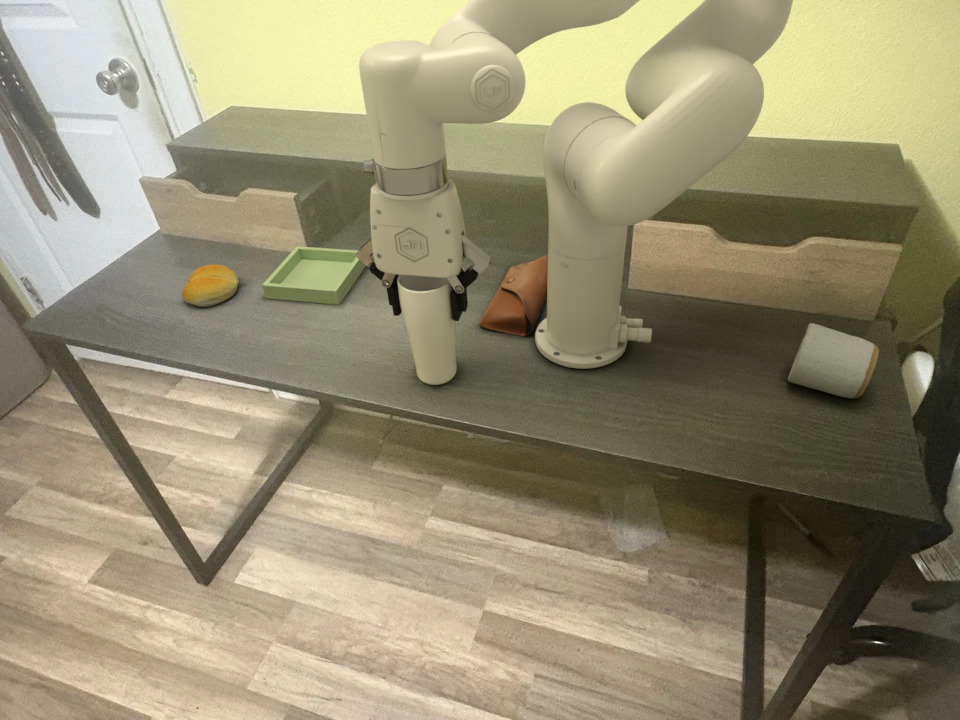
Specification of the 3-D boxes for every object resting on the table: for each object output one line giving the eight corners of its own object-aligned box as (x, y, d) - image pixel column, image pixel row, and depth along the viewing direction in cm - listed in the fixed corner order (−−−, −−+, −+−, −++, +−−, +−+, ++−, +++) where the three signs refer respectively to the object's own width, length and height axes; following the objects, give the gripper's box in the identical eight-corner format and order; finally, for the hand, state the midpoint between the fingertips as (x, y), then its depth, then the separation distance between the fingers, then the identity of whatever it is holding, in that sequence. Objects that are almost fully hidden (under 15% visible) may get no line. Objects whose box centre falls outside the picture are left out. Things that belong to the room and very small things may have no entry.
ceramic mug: (857, 414, 74) (880, 362, 70) (783, 393, 78) (800, 343, 73) (865, 363, 81) (886, 314, 77) (797, 346, 85) (813, 298, 80)
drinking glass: (455, 393, 81) (445, 294, 72) (405, 388, 82) (388, 290, 73) (467, 360, 86) (459, 264, 77) (419, 355, 87) (405, 260, 78)
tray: (367, 263, 108) (365, 250, 106) (339, 304, 98) (336, 291, 97) (300, 258, 110) (296, 246, 109) (265, 298, 101) (261, 285, 99)
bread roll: (179, 311, 99) (170, 289, 97) (196, 280, 106) (188, 260, 104) (232, 306, 100) (224, 285, 97) (245, 277, 106) (238, 256, 104)
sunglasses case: (508, 264, 104) (528, 234, 100) (543, 286, 105) (565, 258, 100) (475, 327, 91) (497, 296, 86) (517, 352, 92) (540, 323, 87)
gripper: (321, 184, 66) (352, 323, 77) (484, 191, 62) (492, 336, 73) (348, 156, 71) (373, 290, 82) (499, 161, 68) (504, 300, 79)
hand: (429, 311), depth 78 cm, fingers closed on drinking glass, 6 cm apart
